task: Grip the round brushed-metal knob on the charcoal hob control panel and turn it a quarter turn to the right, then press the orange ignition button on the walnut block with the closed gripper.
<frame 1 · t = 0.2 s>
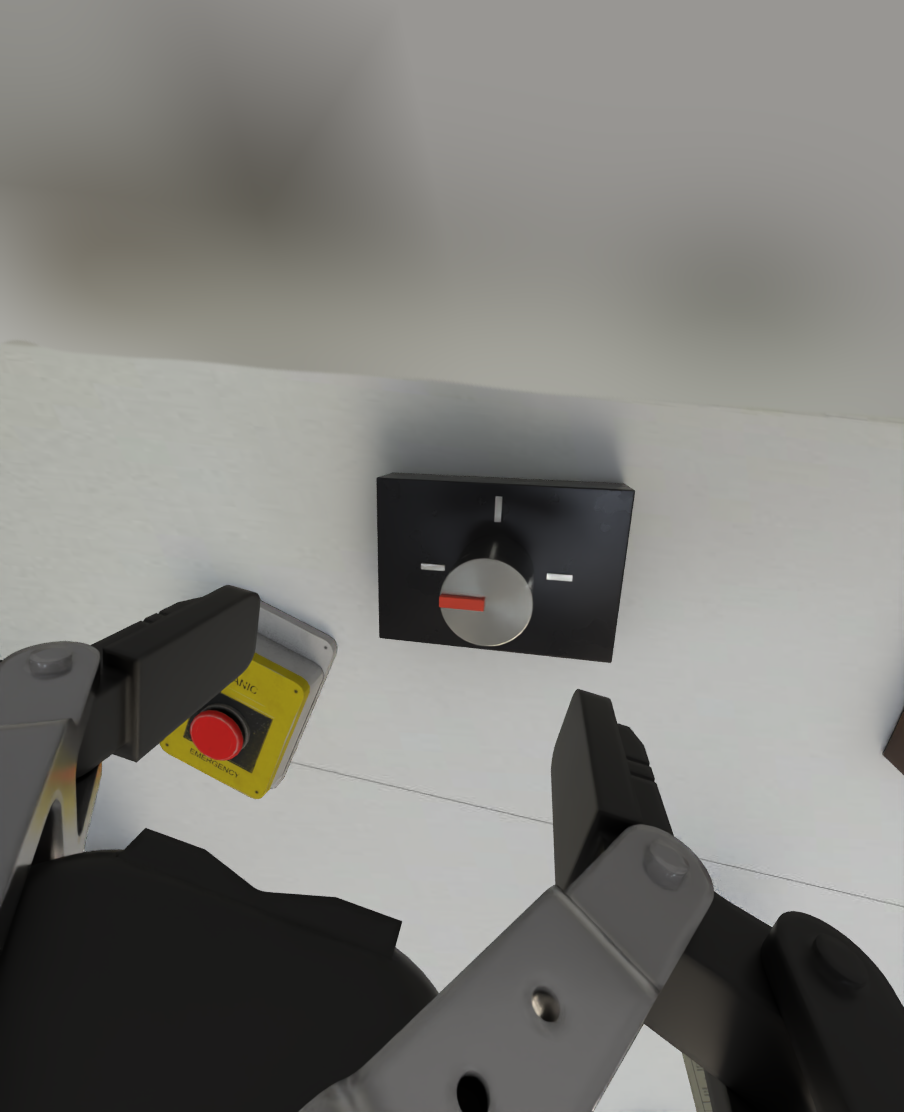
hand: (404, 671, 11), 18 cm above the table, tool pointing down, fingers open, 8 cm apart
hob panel: (499, 557, 29), on the table
hob knob: (490, 587, 24), point 6 cm above the table, hinge at 0.0°
box: (704, 998, 36), on the table
emergency button: (256, 690, 36), on the table
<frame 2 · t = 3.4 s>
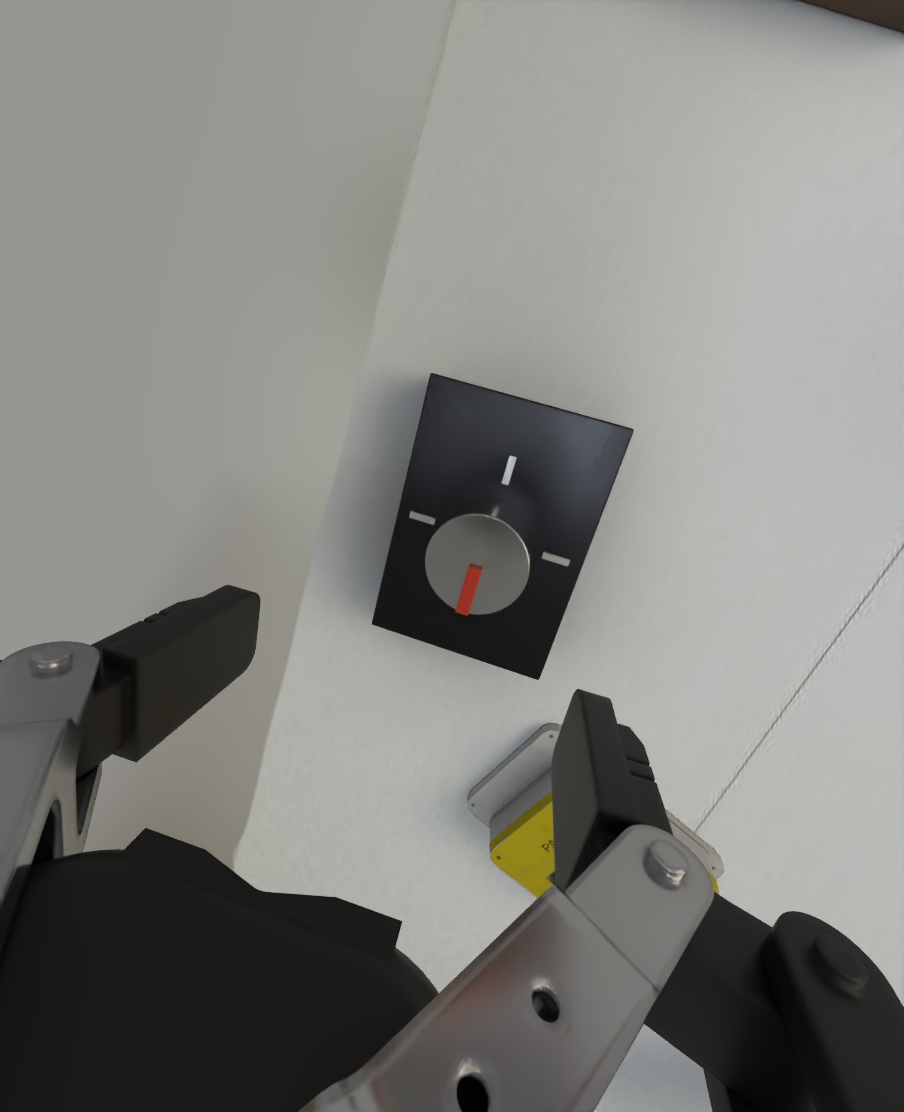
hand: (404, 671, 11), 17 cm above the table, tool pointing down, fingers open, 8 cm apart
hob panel: (493, 525, 27), on the table
hob knob: (482, 551, 21), point 6 cm above the table, hinge at 0.0°
emergency button: (589, 825, 31), on the table
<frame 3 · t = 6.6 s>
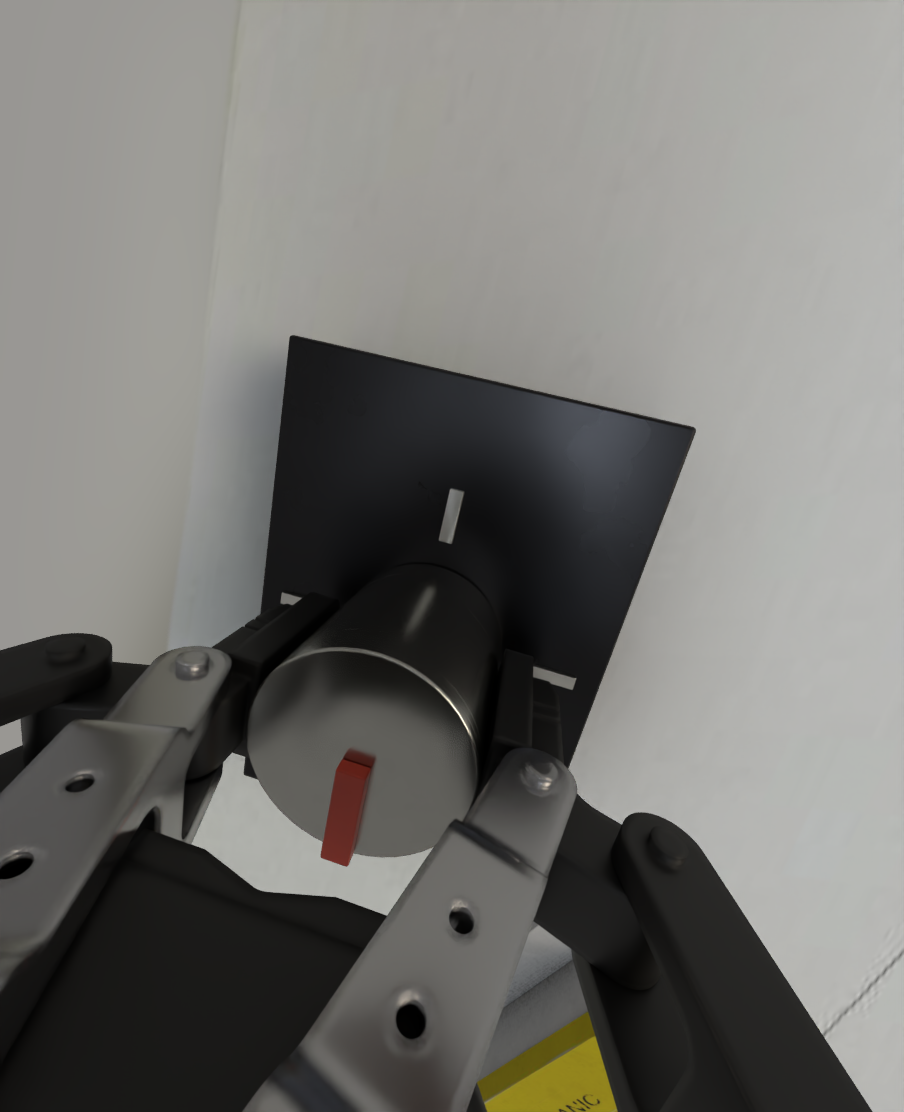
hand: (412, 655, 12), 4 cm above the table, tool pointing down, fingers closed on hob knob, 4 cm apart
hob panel: (444, 599, 16), on the table
hob knob: (395, 689, 10), point 6 cm above the table, hinge at 0.2°, touching gripper
emergency button: (622, 1042, 20), on the table
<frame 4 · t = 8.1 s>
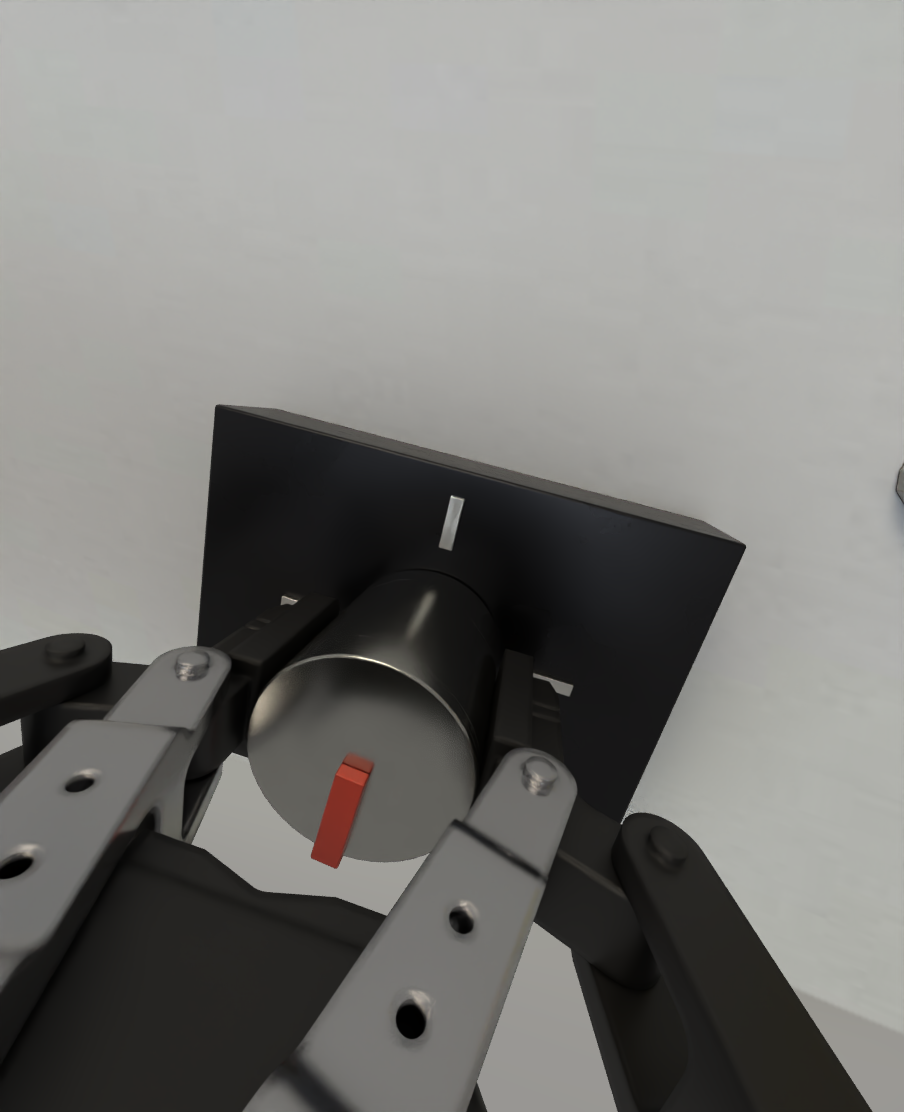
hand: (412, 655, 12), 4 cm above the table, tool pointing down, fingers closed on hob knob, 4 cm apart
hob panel: (443, 604, 16), on the table
hob knob: (394, 694, 11), point 6 cm above the table, hinge at -94.4°, touching gripper
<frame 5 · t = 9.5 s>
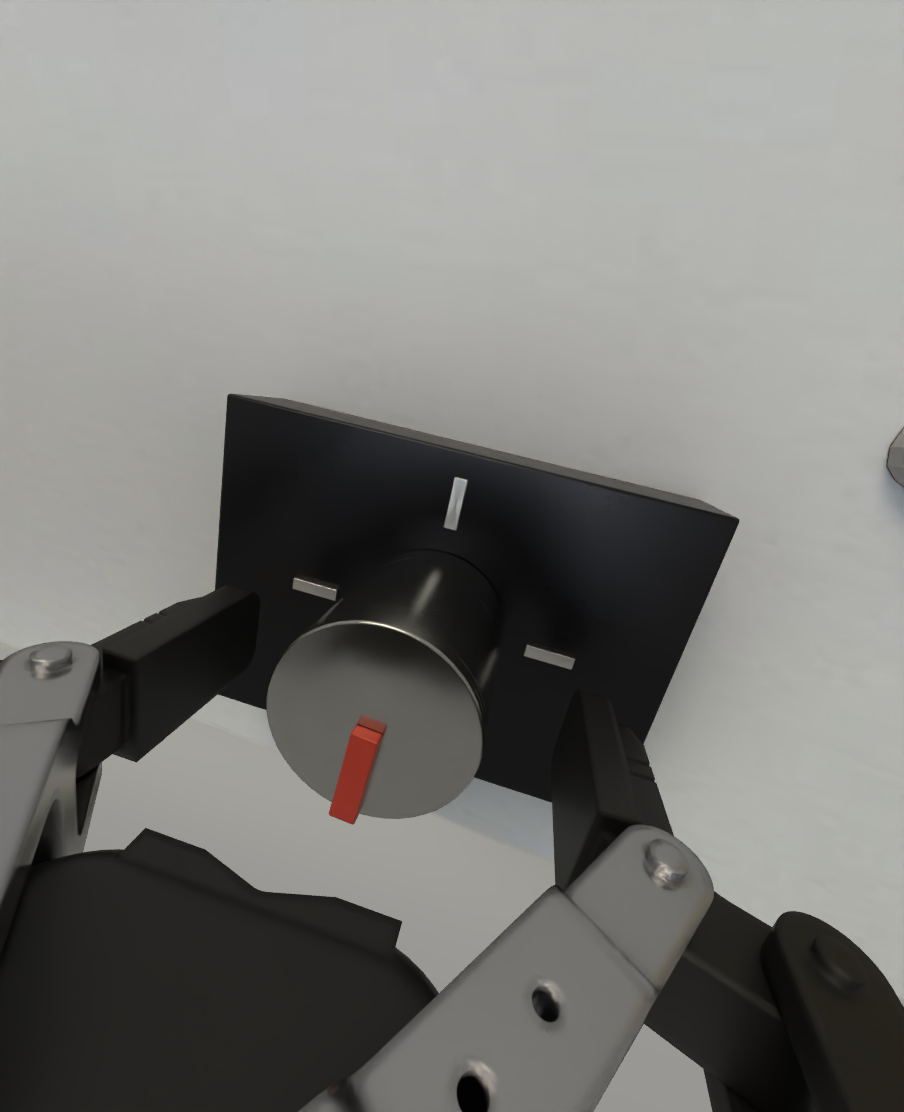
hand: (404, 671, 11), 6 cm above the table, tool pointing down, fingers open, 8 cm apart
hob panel: (448, 586, 16), on the table
hob knob: (404, 665, 11), point 6 cm above the table, hinge at -94.0°
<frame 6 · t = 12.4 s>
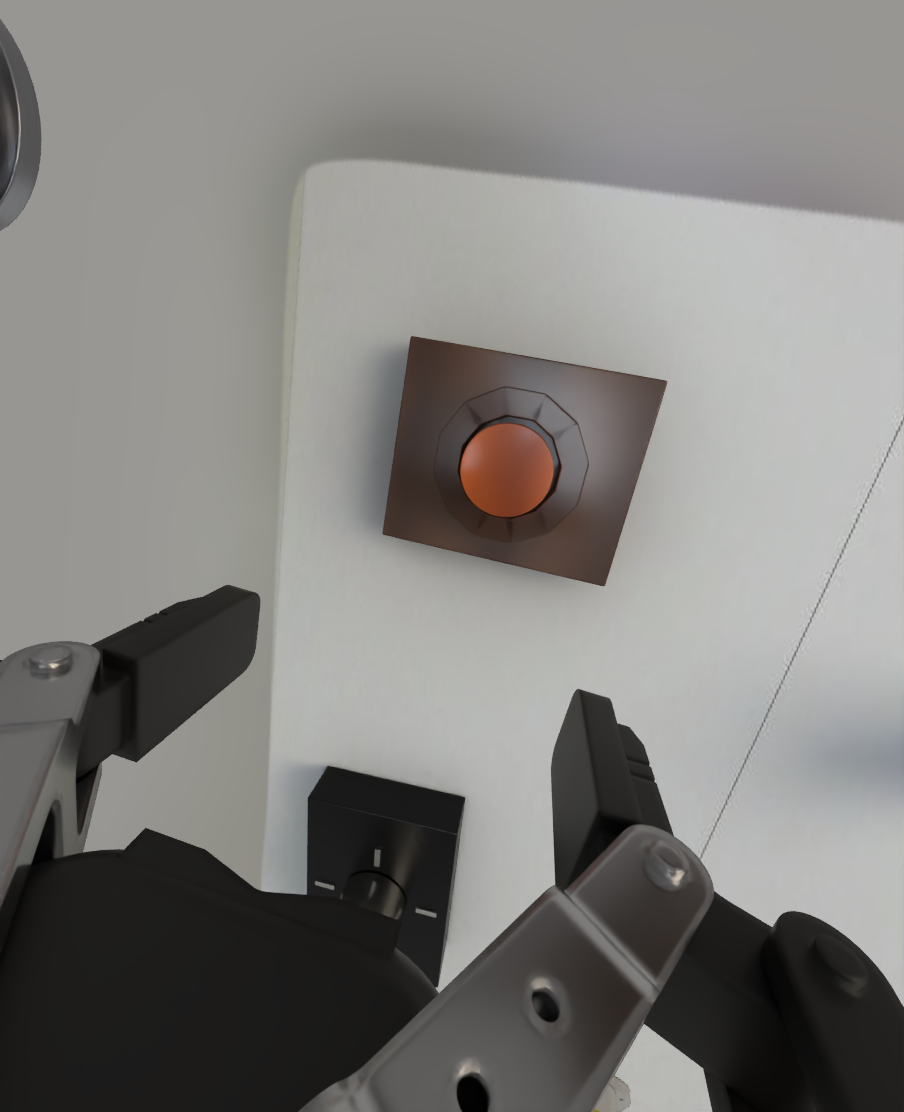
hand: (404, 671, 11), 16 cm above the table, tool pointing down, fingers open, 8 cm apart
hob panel: (389, 857, 34), on the table
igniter: (513, 462, 25), on the table
hob knob: (360, 938, 29), point 6 cm above the table, hinge at -94.0°
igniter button: (507, 469, 21), point 4 cm above the table, slide at 0.1 cm
emergency button: (520, 1061, 38), on the table
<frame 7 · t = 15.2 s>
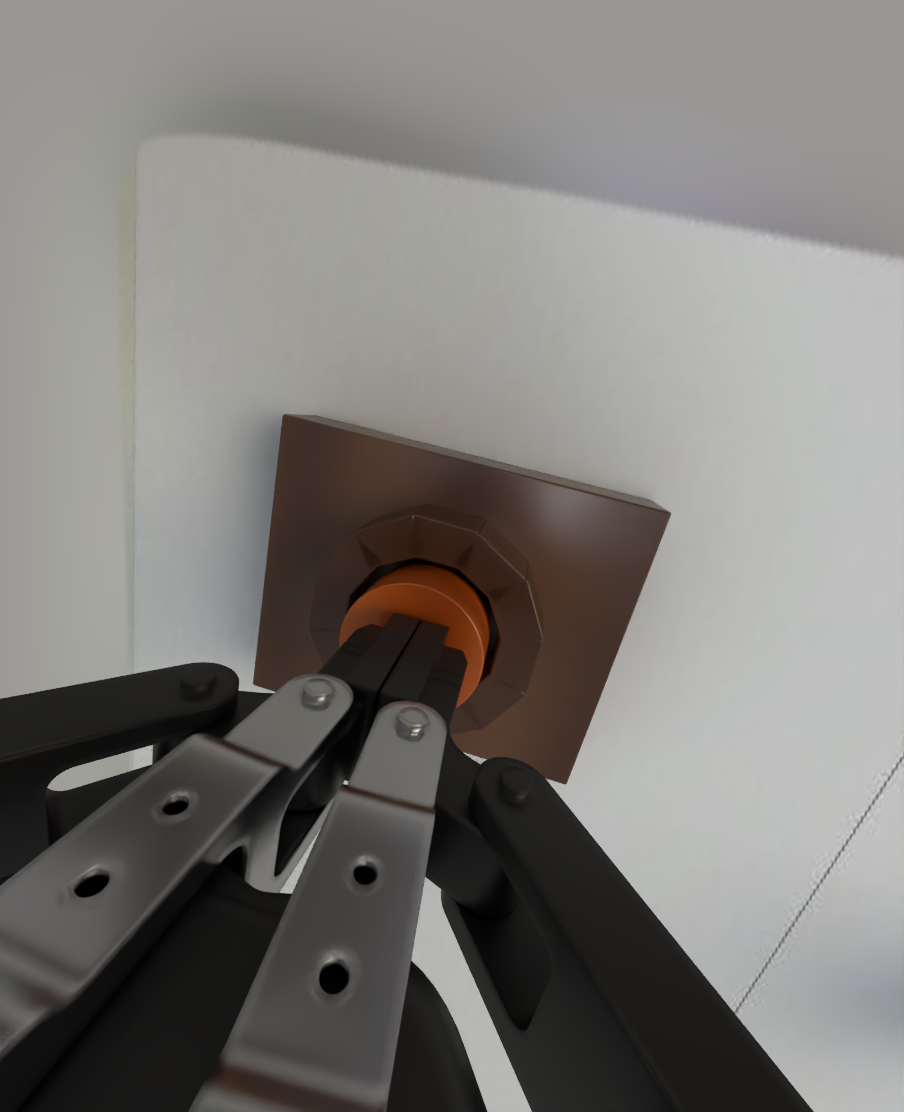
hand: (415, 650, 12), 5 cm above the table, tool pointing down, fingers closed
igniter: (445, 588, 17), on the table
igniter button: (417, 639, 13), point 4 cm above the table, slide at -0.1 cm, touching gripper
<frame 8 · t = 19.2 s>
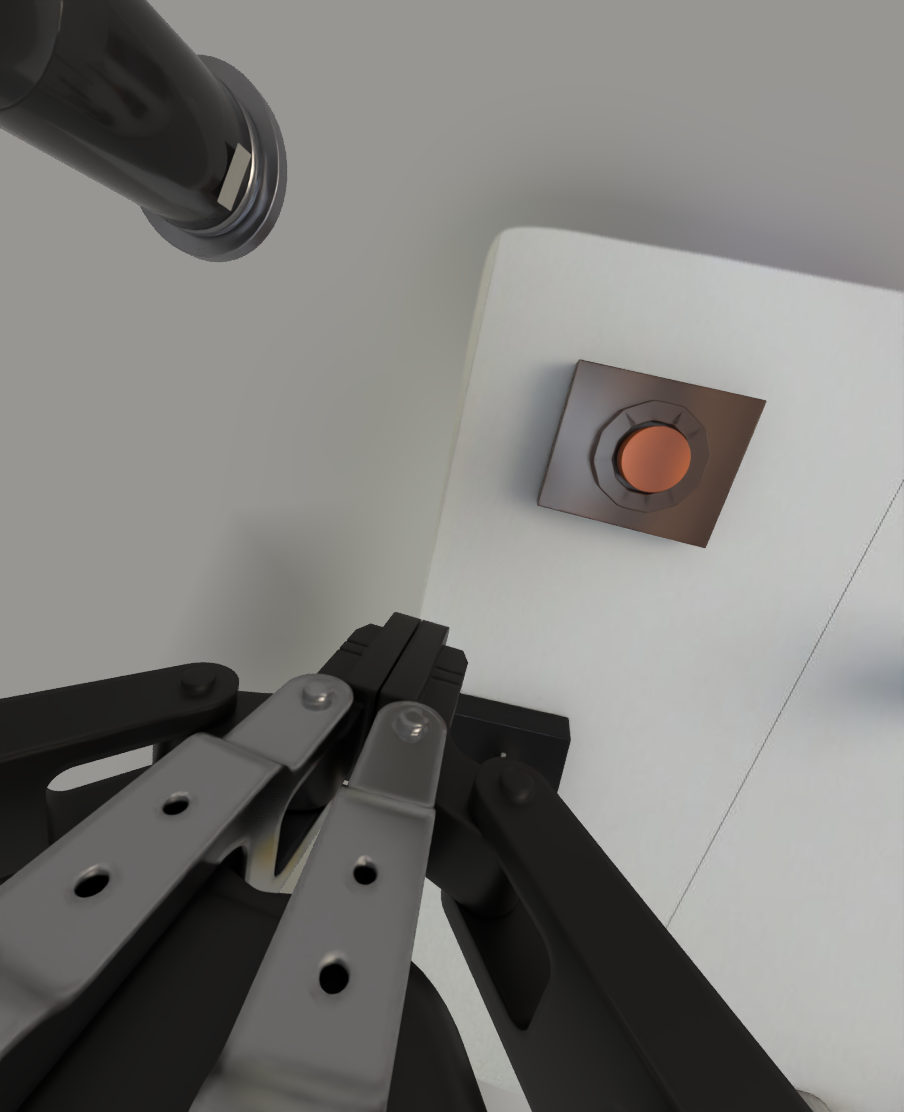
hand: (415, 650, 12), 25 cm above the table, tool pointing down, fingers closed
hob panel: (498, 769, 43), on the table
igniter: (637, 454, 33), on the table
coffee cup: (791, 1109, 48), on the table
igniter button: (652, 458, 29), point 4 cm above the table, slide at 0.1 cm
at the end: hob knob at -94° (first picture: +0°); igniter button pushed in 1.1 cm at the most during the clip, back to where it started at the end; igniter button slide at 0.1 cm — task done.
